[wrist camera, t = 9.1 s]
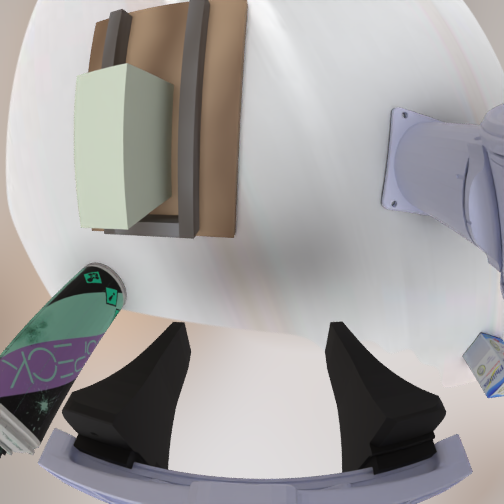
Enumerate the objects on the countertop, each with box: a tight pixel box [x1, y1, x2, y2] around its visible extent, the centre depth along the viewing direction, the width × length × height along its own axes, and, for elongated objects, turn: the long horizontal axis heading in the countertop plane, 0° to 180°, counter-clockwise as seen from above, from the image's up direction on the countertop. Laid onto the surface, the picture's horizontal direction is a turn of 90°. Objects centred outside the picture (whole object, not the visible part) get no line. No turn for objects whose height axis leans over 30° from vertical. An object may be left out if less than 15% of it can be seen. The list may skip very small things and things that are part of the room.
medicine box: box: [463, 333, 504, 398], centre depth 22 cm, size 8×4×9 cm, turn 71°
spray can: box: [0, 263, 126, 458], centre depth 14 cm, size 6×6×20 cm
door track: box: [88, 0, 248, 239], centre depth 16 cm, size 12×18×3 cm, turn 177°
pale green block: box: [74, 63, 174, 230], centre depth 14 cm, size 3×8×7 cm, turn 177°
